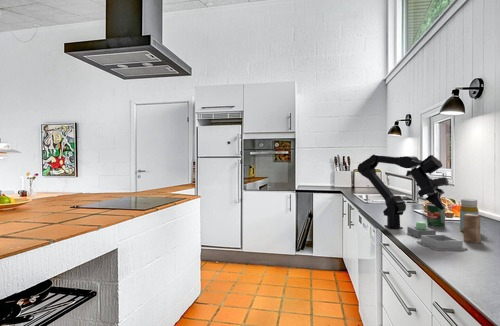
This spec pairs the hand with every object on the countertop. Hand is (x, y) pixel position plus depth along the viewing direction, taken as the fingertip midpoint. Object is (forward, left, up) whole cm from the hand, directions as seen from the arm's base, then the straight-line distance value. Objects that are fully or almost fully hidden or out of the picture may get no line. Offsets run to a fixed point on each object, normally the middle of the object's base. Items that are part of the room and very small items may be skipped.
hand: (442, 209), depth 132 cm
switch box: (-5, -7, -12) cm, 15 cm away
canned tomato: (-22, +12, -12) cm, 27 cm away
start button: (-5, -7, -11) cm, 14 cm away
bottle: (-9, +19, -12) cm, 24 cm away
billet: (+7, +7, -12) cm, 16 cm away
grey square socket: (+12, -10, -12) cm, 20 cm away
